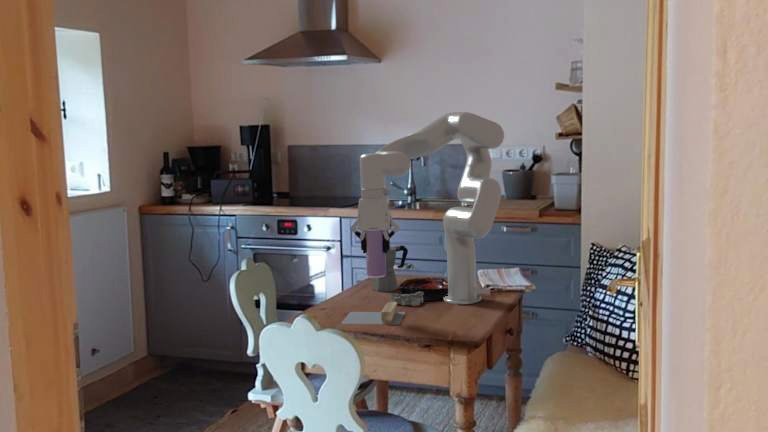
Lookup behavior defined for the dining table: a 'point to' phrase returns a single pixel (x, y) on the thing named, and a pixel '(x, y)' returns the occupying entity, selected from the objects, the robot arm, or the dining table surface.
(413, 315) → the dining table surface
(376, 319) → the mat
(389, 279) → the coffeepot
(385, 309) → the block
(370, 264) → the beverage can
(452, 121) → the robot arm
